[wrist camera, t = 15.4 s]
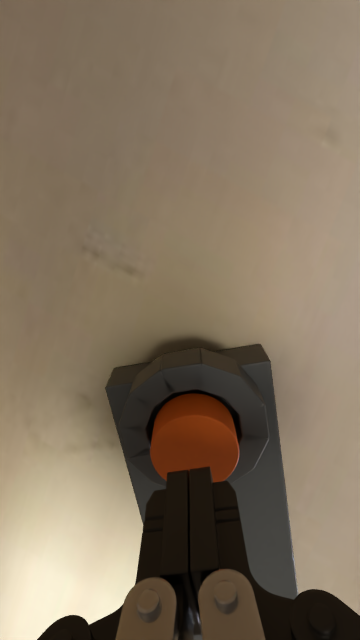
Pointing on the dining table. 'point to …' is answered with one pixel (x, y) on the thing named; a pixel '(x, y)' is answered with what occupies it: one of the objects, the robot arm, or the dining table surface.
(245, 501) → the control pad
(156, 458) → the button
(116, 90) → the dining table surface
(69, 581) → the dining table surface
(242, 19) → the dining table surface
